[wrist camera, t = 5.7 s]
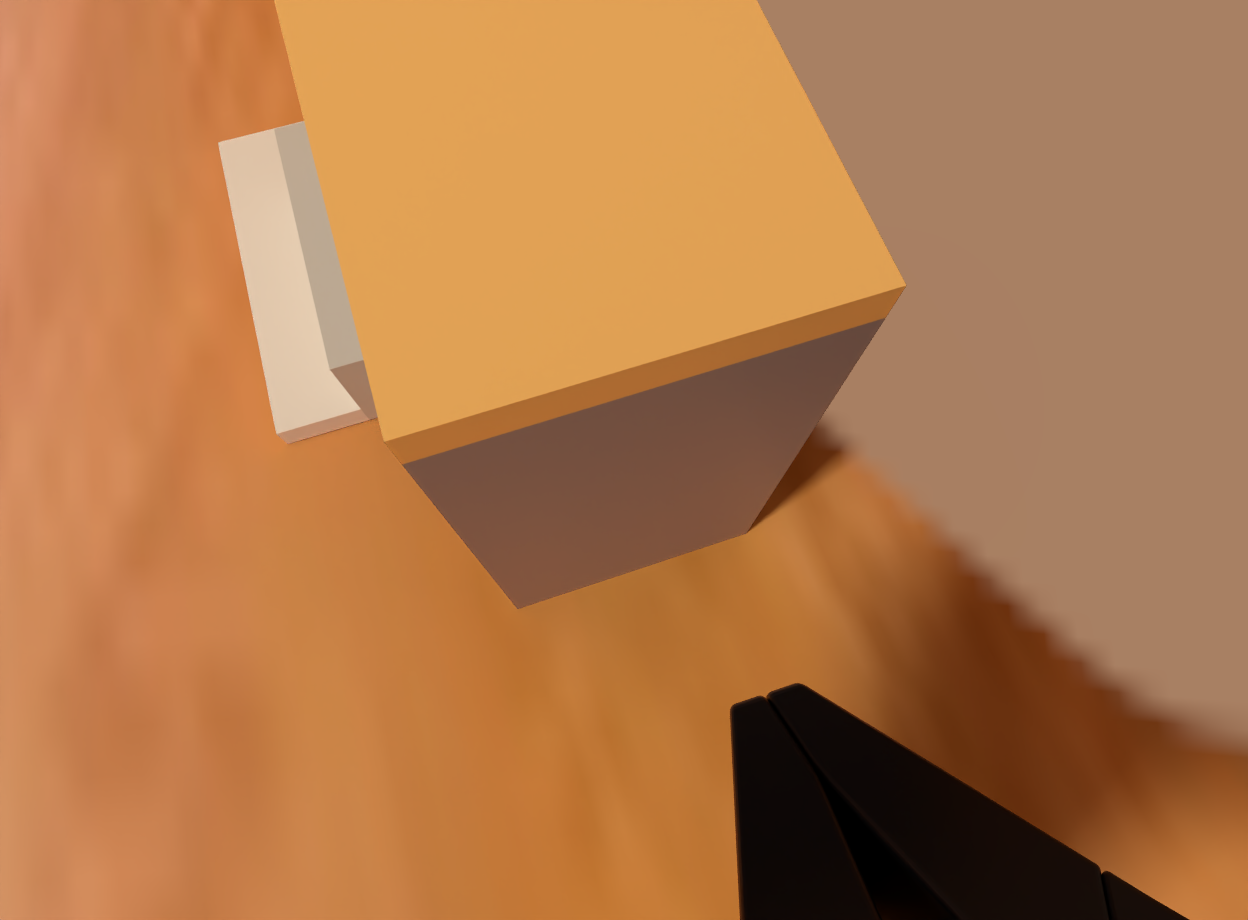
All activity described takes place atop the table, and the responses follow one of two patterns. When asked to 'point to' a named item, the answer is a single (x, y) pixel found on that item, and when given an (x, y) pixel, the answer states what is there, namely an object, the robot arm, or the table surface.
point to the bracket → (295, 285)
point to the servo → (586, 264)
